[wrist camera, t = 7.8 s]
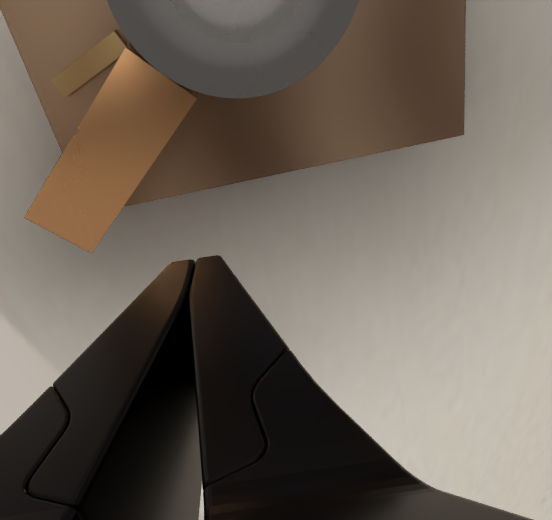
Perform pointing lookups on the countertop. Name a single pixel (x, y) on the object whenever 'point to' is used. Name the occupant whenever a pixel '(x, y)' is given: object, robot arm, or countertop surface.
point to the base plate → (271, 107)
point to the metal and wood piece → (176, 92)
